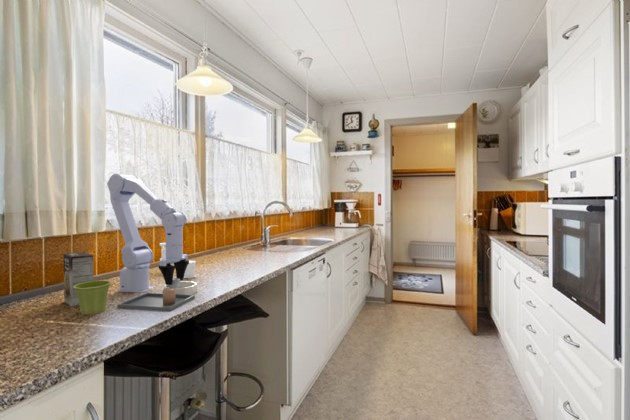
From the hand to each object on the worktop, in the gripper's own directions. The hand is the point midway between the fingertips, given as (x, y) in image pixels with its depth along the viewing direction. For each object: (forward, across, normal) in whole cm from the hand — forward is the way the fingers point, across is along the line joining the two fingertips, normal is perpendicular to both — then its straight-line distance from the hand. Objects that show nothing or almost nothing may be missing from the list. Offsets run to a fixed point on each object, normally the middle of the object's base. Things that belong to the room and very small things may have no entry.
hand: (174, 282), depth 123 cm
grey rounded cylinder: (+3, 0, 0) cm, 3 cm away
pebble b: (+3, -13, -6) cm, 15 cm away
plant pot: (+4, -24, +12) cm, 27 cm away
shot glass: (+4, +25, +10) cm, 27 cm away
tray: (+4, -13, -2) cm, 14 cm away
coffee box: (+4, -16, +25) cm, 30 cm away
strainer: (+4, +33, +25) cm, 41 cm away
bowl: (+4, 0, -2) cm, 5 cm away
